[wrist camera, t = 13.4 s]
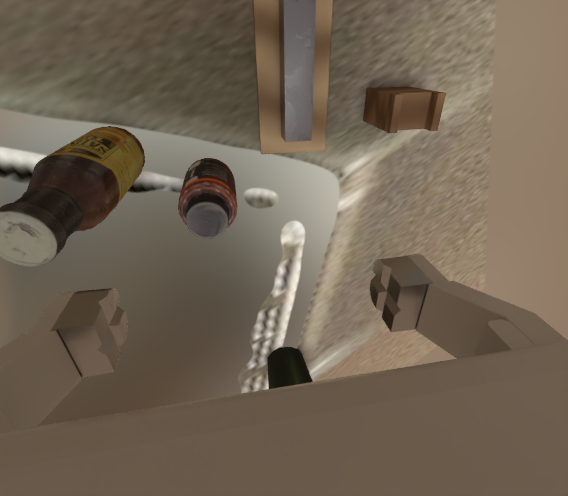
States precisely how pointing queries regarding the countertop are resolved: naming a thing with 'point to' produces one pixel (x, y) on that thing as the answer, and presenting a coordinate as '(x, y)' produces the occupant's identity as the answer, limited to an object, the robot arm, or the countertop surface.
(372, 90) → the post
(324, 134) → the wooden plank
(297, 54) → the rail
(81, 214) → the sauce bottle
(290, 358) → the potion bottle
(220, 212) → the supplement bottle
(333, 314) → the countertop surface
